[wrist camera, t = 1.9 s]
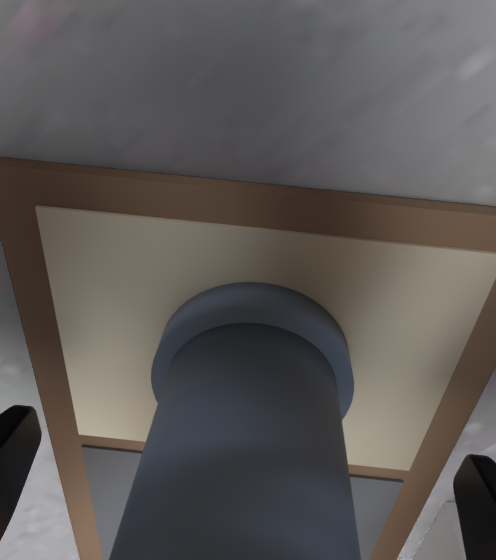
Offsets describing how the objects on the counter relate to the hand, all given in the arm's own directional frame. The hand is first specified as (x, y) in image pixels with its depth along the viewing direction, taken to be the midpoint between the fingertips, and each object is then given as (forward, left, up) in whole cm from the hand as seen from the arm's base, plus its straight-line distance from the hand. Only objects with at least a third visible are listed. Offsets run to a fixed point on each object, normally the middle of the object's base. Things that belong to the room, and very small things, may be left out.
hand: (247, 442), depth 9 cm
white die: (-9, +8, -3) cm, 12 cm away
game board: (0, +8, -3) cm, 9 cm away
